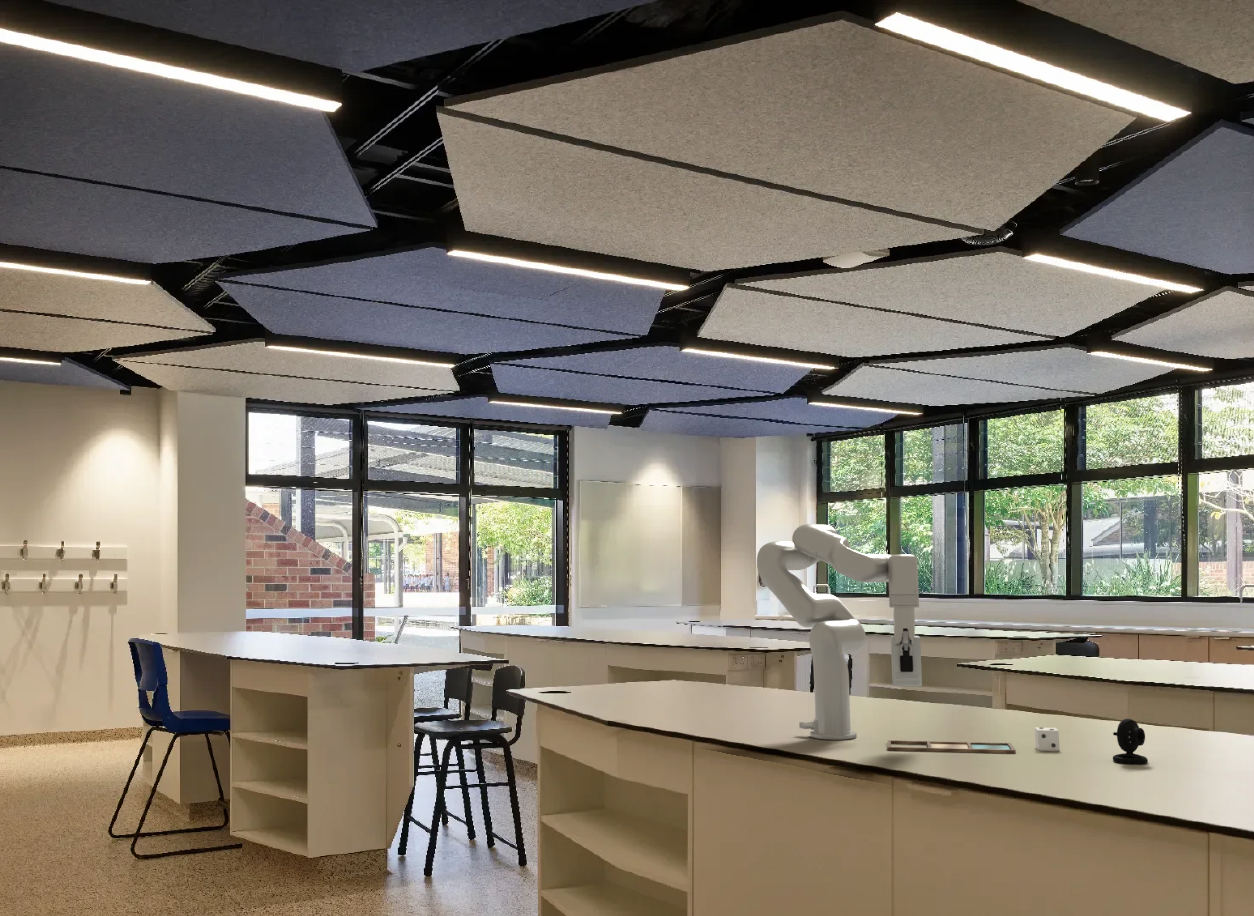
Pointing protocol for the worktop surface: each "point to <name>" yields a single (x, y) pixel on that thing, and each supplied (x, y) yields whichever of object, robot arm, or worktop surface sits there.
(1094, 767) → the worktop surface
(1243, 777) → the worktop surface
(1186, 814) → the worktop surface
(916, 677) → the supplement box
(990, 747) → the board
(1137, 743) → the webcam
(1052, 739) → the die
